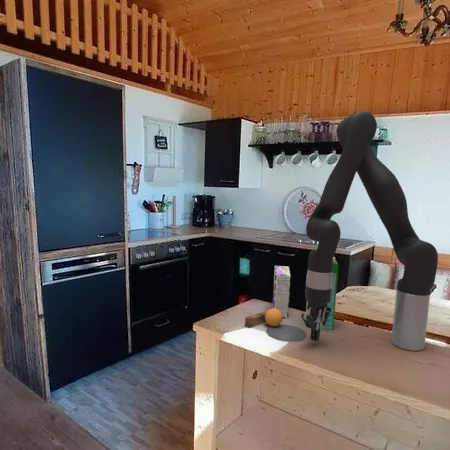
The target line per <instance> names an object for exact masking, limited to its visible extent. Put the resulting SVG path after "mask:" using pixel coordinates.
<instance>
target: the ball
mask: <svg viewBox="0 0 450 450" xmlns="http://www.w3.org/2000/svg"><path fill="white" fill-rule="evenodd" d="M266 311H267V312H266V314H265V320H266V322H265V323H266V324H267V325H268V326H278V325H280V324H282V322H283V319H284V318H283V316H282V313H281V312H280V311H279V310H278V309H275V308H273V307H272V308H270V309H268V310H266Z"/></svg>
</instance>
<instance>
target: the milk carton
mask: <svg viewBox="0 0 450 450" xmlns="http://www.w3.org/2000/svg"><path fill="white" fill-rule="evenodd" d="M311 251H312V250H311ZM311 251H310V252H311ZM310 252H309V253H310ZM338 274H339V264H338V262H337V260H336V257H335V256H334V257H333V267H332V291H331V301H330V302H329V303H327V306H328V307H329V308H331V312H330V314H329V317H328V319H327V321H326V323H325V325H324V326H323V325H322V328H321V330H322V329H323V330H331V331H332V330H334V327H335V326H334V324H335V323H334V322H335V312H336V300H337V299H336V298H337V287H338ZM307 306H308V301H307V300H306V306H305V313H306V312H307Z"/></svg>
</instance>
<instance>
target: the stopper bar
mask: <svg viewBox="0 0 450 450" xmlns="http://www.w3.org/2000/svg"><path fill="white" fill-rule="evenodd" d="M267 311H268V310H265V311H262V312H259V313H256V314H253V315H250V316H245V318H244V321H245V322H244V327H245V328H249V329H250V328H253V327H256V326H259V325H262V324H265V323H267V322H266V320H265V314H266V312H267Z"/></svg>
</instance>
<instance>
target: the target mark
mask: <svg viewBox="0 0 450 450" xmlns="http://www.w3.org/2000/svg"><path fill="white" fill-rule="evenodd" d="M265 332H266V333H265V334H267V335H268V336H269V337H271V338H272V339H275V340H278V341H281V342H290V341H293V342H299V341H303V340H304V339H306V338H307V333H306V331H305V330H303V329H302V328H300V327H298V326H295V325H291V324H282V323H281V324H280V325H278V326H270V325H268V327H266V330H265Z"/></svg>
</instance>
